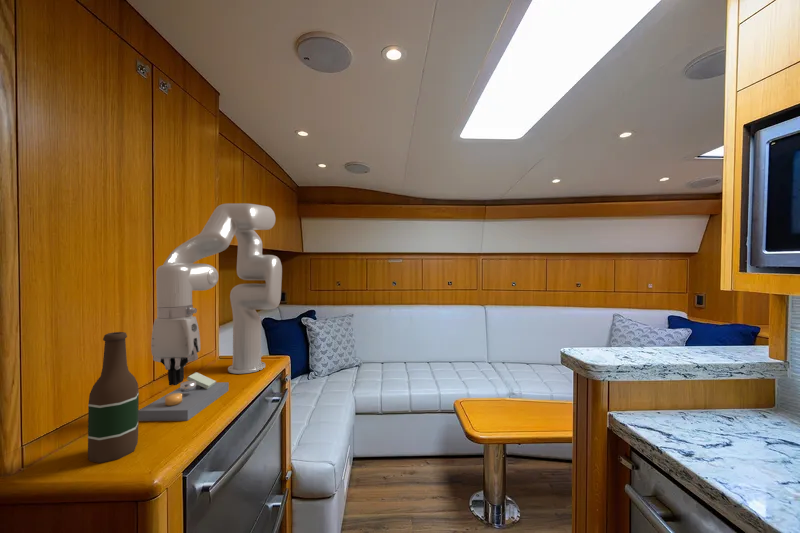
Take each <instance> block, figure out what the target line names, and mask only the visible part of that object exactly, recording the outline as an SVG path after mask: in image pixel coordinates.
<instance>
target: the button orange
mask: <svg viewBox="0 0 800 533" xmlns="http://www.w3.org/2000/svg"><path fill="white" fill-rule="evenodd" d="M168 394H169V393H168ZM166 395H167V394H166ZM164 396H165V395H164ZM181 402H182V393H173V394H169V395H167V396H165V405H167V406H170V405H176V404H179V403H181Z"/></svg>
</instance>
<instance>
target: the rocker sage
mask: <svg viewBox="0 0 800 533" xmlns="http://www.w3.org/2000/svg"><path fill="white" fill-rule="evenodd" d="M186 381H196V384H197V385H199V386H201V387H204V388H206V389H208V388H210V387H211V386H213V385H214V384H215V383H216V382H217V380H216V379H215V380H214V379H212V378H211V377H208V376H205V375H203V374H201V373H200V372H196V371H195V372H194V373H192V374H190V375H189V376H187V378H186Z"/></svg>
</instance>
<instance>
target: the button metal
mask: <svg viewBox="0 0 800 533" xmlns="http://www.w3.org/2000/svg"><path fill="white" fill-rule="evenodd" d="M179 384H180V387H179V388H180V391H181V392H188V391H192V390H195V389H196V381H188V380H186V381H182V382H181V383H179Z"/></svg>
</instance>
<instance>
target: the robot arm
mask: <svg viewBox="0 0 800 533" xmlns="http://www.w3.org/2000/svg"><path fill="white" fill-rule="evenodd" d="M275 224H276V214H275V211H274V210H273V209H272V207H270V206H268V205H267V206H266V205H261V204H255V203H246V202H245V203H243V202H242V203H240V202H239V203H222V204H220V205H218V206H217V207H216V208H215V209H214V210H213V212H212V214H211V215H210V217H209V218H208V220H207V222H206V224H205V225H204V226H203V229H202V230H201V231H200V233H199V234H197V235H195V236H193V237H191V238H190V239H188V240H186V241H185V242H183V243H181V244H180V245H179V246H177V247H175V249H173V250H172V251H171V252H170V253H169V255H168V257H167V258H166V259H165V261H164V263H163V265H160V266H158V267H157V269H156V273H155V276H156V318H154V322H153V326H152V333H151V343H150V344H151V346H150V348H151V349H150V350H151V355H152V357H153V358H152V360H153V361H154V362H158V363H161V364H162V365H163V366H164V368H165V370H167V379H168V385H169V386H177V385H179V384H181V383H183V382H184V378H185V373H184V372H185V367H186V365H187V364H189V363H191V362H195V361H197V360H198V359H199V356H198V353H199V352H201V335H200V329H199V324H198V320H197V316H194V314H197V312H198V309H197V307H196V308H195V307H194V305H193V291H207V290H210V289H212V288H213V287H215V286H216V285H217V283H218V281H219V276H220V275H219V271H218V270H217V268H215V267H214V266H213V265H211V264H207V263H196V262H198V261H199V260H202V259H203V258H207V257H211V256H214V255H216V254H219V253H221V252H223V251H226V250H227V249H228V248H229V246H230V244H231V243H232V240H233V238H234V237H235V239H236V240H237V254H236V255H237V257H236V275H237V277H239V279H241V280H243V281H265V283H239V284H237V285H234V287H232V289H231V290H230V294H229V300H230V306H231V310H232V364H231V365H230V366H228V368H227V372H228V373H231V374H236V375H237V374H239V375H240V374H241V375H243V374H250V373H256V372H259V370H260V371H262V370H264V369H265V368H266V363H265V362H263V361H262V357H263V356H264V354H263V352H262V320H261V317H260V315H259V314H258V312H257V310H264V311H265V310H266V311H267V310H275V309H277V308H278V307H279V306H280V302H281V299H282V280H283V265H282V262H281V259H280V258H279V257H278V256H276V255H274V254H263V241H262V238H261V237H260V235H258V233H257V232H256V231H257V230H260V231H266V230H268V231H269V230H271V229H272V228H273V227H274V226H275ZM263 368H264V369H263Z"/></svg>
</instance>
